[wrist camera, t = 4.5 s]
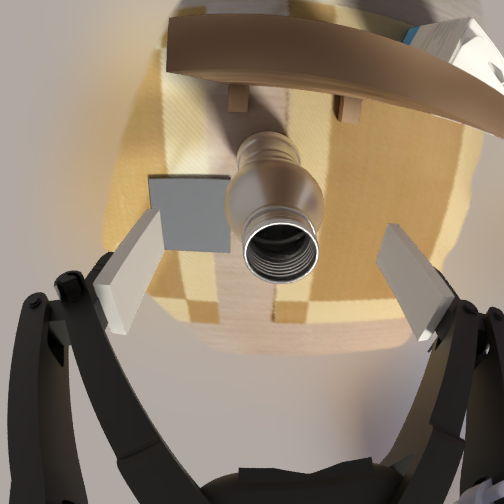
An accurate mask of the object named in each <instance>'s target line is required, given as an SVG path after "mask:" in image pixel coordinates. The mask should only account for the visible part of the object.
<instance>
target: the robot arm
mask: <svg viewBox="0 0 504 504" xmlns="http://www.w3.org/2000/svg"><path fill="white" fill-rule="evenodd" d="M164 252H165V251H164V243H163V235H162V227H161V218H160V210H157V209H147V210H146V211H145V213H144V214H143V215H142V216H141V218H140V219H139V220H138V221H137V223H136V224H135V225H134V227H133V228H132V229H131V231H130V232H129V233H128V234H127V236H126V237H125V238H124V240H123V241H122V242H121V244H120V245H119V247H118V248H117V249H116V251H115V252H108V253H106V254H105V255H103V256H102V257H101V258H100V259H99V260H98V262H97V263H96V265H95V266H94V267H93V269H92V271H90V273H89V274H88V276H87V277H86V278H85V280H84V277H83V275H82V274H81V272H79V271H68V272H65V273H63V274H61V275H60V276H59V277H58V278H57V279H56V281H55V282H54V287H55V290H56V292H57V294H58V296H59V299H60V300H54V301H49V300H48V298H47V296H46V295H45V294H44V293H42V292H38V293H34V294H32V295H30V296H29V297H28V298H27V299H26V300H25V301H24V303H23V306H22V310H21V314H20V318H19V323H18V328H17V332H16V338H15V344H14V349H13V356H12V363H11V371H10V380H9V392H8V417H7V426H8V450H9V463H10V472H11V480H12V481H11V489H10V499H9V504H88V500H87V495H86V490H85V485H84V482H83V478H82V473H81V469H80V464H79V459H78V454H77V449H76V443H75V437H74V430H73V422H72V413H71V402H70V389H69V366H68V365H69V363H68V362H69V361H68V360H69V359H68V350H69V349H68V348H69V347H68V346H69V345H72V349H73V352H74V356H75V359H76V362H77V365H78V368H79V371H80V374H81V377H82V380H83V383H84V385H85V388H86V391H87V394H88V396H89V398H90V401H91V403H92V406H93V408H94V411H95V413H96V416H97V418H98V420H99V422H100V425H101V427H102V429H103V431H104V433H105V435H106V437H107V439H108V441H109V443H110V445H111V447H112V449H113V451H114V453H115V455H116V457H117V466H118V469H119V471H120V472H121V474H122V476H123V478H124V479H125V481H126V483H127V485H128V486H129V488H130V489H131V491H132V492H133V494H134V496H135V497H136V499H137V500H138V502H139V503H140V504H443V503H444V500H445V498H446V496H447V494H448V491H449V489H450V487H451V484H452V482H453V479H454V477H455V474H456V471H457V468H458V466H459V463H460V460H461V457H462V454H463V451H464V456H463V463H462V470H461V479H460V498H459V500H458V501H456V502H454V504H504V314H503V313H502V311H501V310H500V309H497V308H495V307H490V308H489V310H488V311H487V313H486V314H482V313H479V312H478V310H477V308H476V307H475V306H474V305H473V304H472V303H471V302H469V301H467V300H460V298H459V297H458V295H457V294H456V292H455V291H454V290H453V288H452V287H451V285H449V283H448V281H447V280H445V277H444V276H443V275H442V273H441V272H440V271H438V270H437V269H436V268H435V267H433V266H432V264H431V263H430V262H429V261H428V259H427V258H426V257H425V256H424V254H423V253H422V252H421V251H420V249H419V248H418V247H417V246H416V244H415V243H414V242H413V241H412V240H411V239H410V237H409V236H408V235H407V234H406V233H405V231H404V230H403V229H402V228H401V227H400V226H399V225H398V224H391V223H388V224H387V228H386V231H385V234H384V238H383V241H382V244H381V248H380V251H379V254H378V257H377V260H376V263H377V265H378V266H379V268H380V270H381V271H382V273H383V275H384V277H385V279H386V280H387V282H388V284H389V286H390V288H391V289H392V291H393V293H394V295H395V297H396V299H397V301H398V303H399V304H400V306H401V308H402V310H403V312H404V314H405V316H406V318H407V320H408V322H409V324H410V326H411V328H412V330H413V333H414V335H415V336H416V339H417V341H422V340H429V339H430V338H431V336H432V335H433V333H434V331H436V333H437V335H438V337H437V338H436V340H435V341H434V343H433V344H432V346H431V347H430V348H429V350H428V352H430V351H431V350H432V352H431V355H430V358H429V361H428V364H427V367H426V370H425V373H424V376H423V379H422V381H421V384H420V387H419V389H418V392H417V395H416V397H415V400H414V402H413V405H412V407H411V409H410V412H409V414H408V416H407V418H406V421H405V423H404V425H403V427H402V429H401V431H400V433H399V435H398V437H397V439H396V441H395V443H394V445H393V447H392V449H391V451H390V452H389V454H388V455H387V456H386V457H385V458H384V459H383V460H382V462H381V463H380V464H376V463H372V458H371V457H368V458H363V459H358V460H352V461H346V462H342V463H339V464H336V465H334V466H331V467H328V468H326V469H323V470H320V471H317V472H314V473H311V474H305V473H298V472H292V471H286V470H281V469H276V468H239V472H238V473H234V474H229V475H225V476H222V477H220V478H217V479H215V480H213V481H211V482H209V483H207V484H206V485H204V486H203V487H201V488H200V487H198V485H197V484H196V483H195V481H194V480H193V479H192V478H191V476H190V475H189V474H188V473H187V471H186V470H185V469H184V468H183V466H182V465H181V464H180V463H179V461H178V460H177V458H176V457H175V456H174V454H173V453H172V452H171V450H170V449H169V447H168V446H167V444H166V443H165V441H164V440H163V438H162V437H161V435H160V434H159V432H158V431H157V429H156V428H155V426H154V424H153V423H152V421H151V420H150V418H149V417H148V415H147V413H146V411H145V410H144V408H143V406H142V405H141V403H140V401H139V399H138V398H137V396H136V394H135V392H134V390H133V389H132V387H131V385H130V383H129V381H128V379H127V377H126V376H125V373H124V371H123V369H122V367H121V366H120V363H119V361H118V359H117V357H116V356H115V353H114V351H113V348H112V346H111V344H110V342H109V339H108V337H107V335H106V333H105V329H106V327H107V324H108V325H109V327H110V330H111V332H112V333H117V334H123V335H127V333H128V331H129V328H130V326H131V324H132V322H133V319H134V317H135V315H136V312H137V310H138V308H139V305H140V303H141V301H142V298H143V296H144V294H145V292H146V290H147V287H148V285H149V283H150V281H151V279H152V277H153V275H154V272H155V270H156V268H157V266H158V264H159V262H160V260H161V258H162V256H163V254H164ZM488 348H489V352H488V354H486V350H487V349H488ZM466 409H467V414H466V434H465V440H464V439H461V438H460V432H461V428H462V424H463V421H464V417H465V413H466Z"/></svg>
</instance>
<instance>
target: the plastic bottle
mask: <svg viewBox="0 0 504 504" xmlns="http://www.w3.org/2000/svg"><path fill="white" fill-rule="evenodd" d="M237 166H238V171H237V172H236V174H235V175H234V176H233V178H232V179H231V181H230V183H229V185H228V187H227V189H226V191H225V195H224V200H223V205H224V213H225V218H226V220H227V222H228V225H229V227H230V229H231V231H232V232H233V234H234V235H235V236H236V238H237V239H238V240H239V241H240V242H242V245H243V256H244V260H245V263H246V265H247V267H248V269H249V270H250V271H251V272H252V273H253V274H254V275H255V276H256V277H258V278H260V279H261V280H264V281H266V282H269V283H274V284H288V283H292V282H296V281H298V280H301V279H302V278H304V277H306V276H307V275H308V274H309V273H310V272H311V271H312V270H313V269H314V267H315V266H316V263H317V261H318V257H319V246H318V242H317V239H316V234H317V232H318V231H319V229H320V226H321V224H322V220H323V214H324V198H323V194H322V191H321V189H320V187H319V185H318V183H317V182H316V180H315V179H314V178H313V177H312V176H311V174H310V173H309V172H308V171H307V170H306V169H304V168H303V167H302V166H301V161H300V155H299V152H298V149H297V148H296V146H295V144H294V143H293V142H292V141H291V140H290V139H289V138H287V137H286V136H284V135H282V134H280V133H277V132H272V131H263V132H258V133H255V134H253V135H251V136H249V137H248V138H247V139H246V140H244V142H243V143H242V144H241V146H240V148H239V150H238V153H237Z"/></svg>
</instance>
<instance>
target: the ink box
mask: <svg viewBox="0 0 504 504" xmlns="http://www.w3.org/2000/svg"><path fill="white" fill-rule="evenodd" d="M402 43H404V44H406V45H409V46H412V47H414V48H417V49H419V50H422V51H424V52H426V53H429V54H431V55H433V56H435V57H438V58H440V59H442V60H444V61H446V62H448V63H450V64H452V65H454V66H456V67H458V68H460V69H462V70H464V71H466V72H467V73H469V74H471V75H473V76H474V77H476V78H478V79H480V80H481V81H483V82H485V83H486V84H488V85H489V86H491V87H493V88H494V89H496V90H497V91H499V92H500V93H502V94H503V95H504V58H503V56H502V55H501V54H500V52H499V51H498V50H497V48H496V47H495V45H494V44H493V43H492V41H491V40H490V39H489V37H488V36H487V35H486V33H485V32H484V31H483V30H482V28H481V27H480V26H479V25H478V24H477V22H476V21H475V20H474V19H473V18H470V17H468V18H462V19H455V20H448V21H443V22H437V23H432V24H427V25H422V26H418V27H414V28H410V29H409V31H408V33H407V35H406V36H405V38H404V40H403V42H402ZM431 115H433V114H431ZM434 116H437V115H434ZM438 117H440V116H438ZM441 118H444V117H441ZM444 119H447V118H444ZM448 120H450V119H448ZM451 121H453V120H451ZM455 122H457V121H455ZM458 123H460V122H458ZM461 124H463V123H461ZM464 125H466V124H464ZM467 126H469V125H467ZM470 127H471V126H470ZM472 128H474V127H472ZM475 129H477V128H475ZM478 130H480V129H478ZM480 131H482V130H480ZM483 132H485V131H483ZM486 133H488V132H486ZM488 134H490V133H488ZM491 135H493V134H491Z"/></svg>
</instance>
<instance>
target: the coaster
mask: <svg viewBox="0 0 504 504" xmlns="http://www.w3.org/2000/svg"><path fill="white" fill-rule="evenodd" d="M230 181H231V179H226V178H149V188H150V198H151V207H152V209H157V210H160V218H161V227H162V235H163V243H164V250H180V251H198V252H217V253H230V227H229V225H228V222H227V220H226V218H225V213H224V205H223V200H224V195H225V191H226V189H227V187H228V185H229V183H230Z"/></svg>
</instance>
